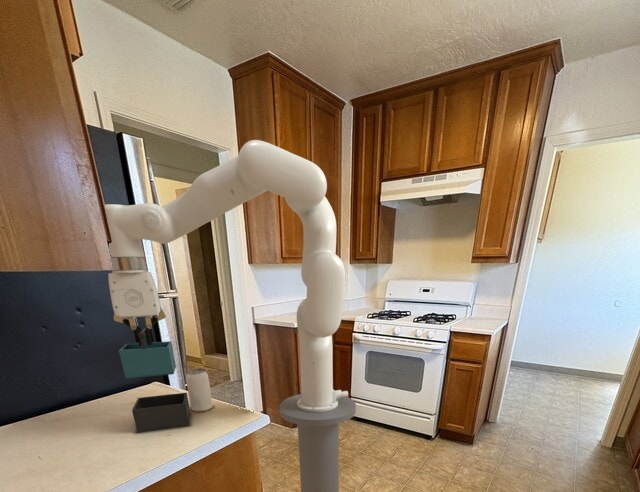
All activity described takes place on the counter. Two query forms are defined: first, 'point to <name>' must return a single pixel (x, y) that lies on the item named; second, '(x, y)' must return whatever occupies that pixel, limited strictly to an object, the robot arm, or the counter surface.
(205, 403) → the can
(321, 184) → the robot arm
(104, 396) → the counter surface
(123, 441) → the counter surface
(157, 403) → the lower bin
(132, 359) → the top bin
